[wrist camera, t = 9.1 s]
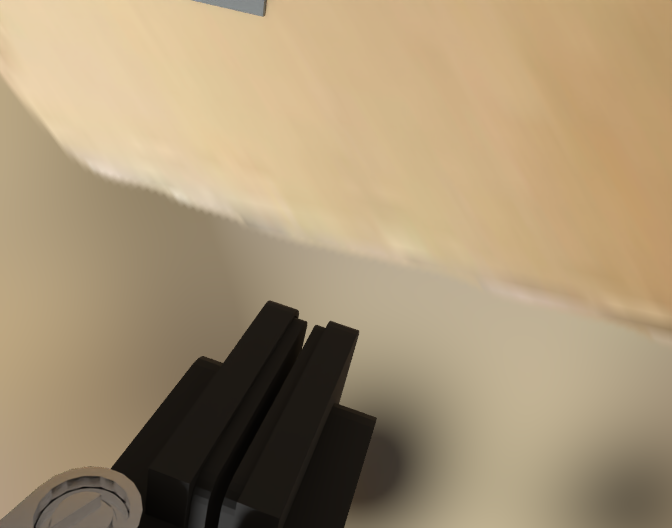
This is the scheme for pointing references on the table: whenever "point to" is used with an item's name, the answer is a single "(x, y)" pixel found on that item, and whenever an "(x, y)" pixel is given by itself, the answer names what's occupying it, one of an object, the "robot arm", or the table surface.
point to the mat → (240, 5)
